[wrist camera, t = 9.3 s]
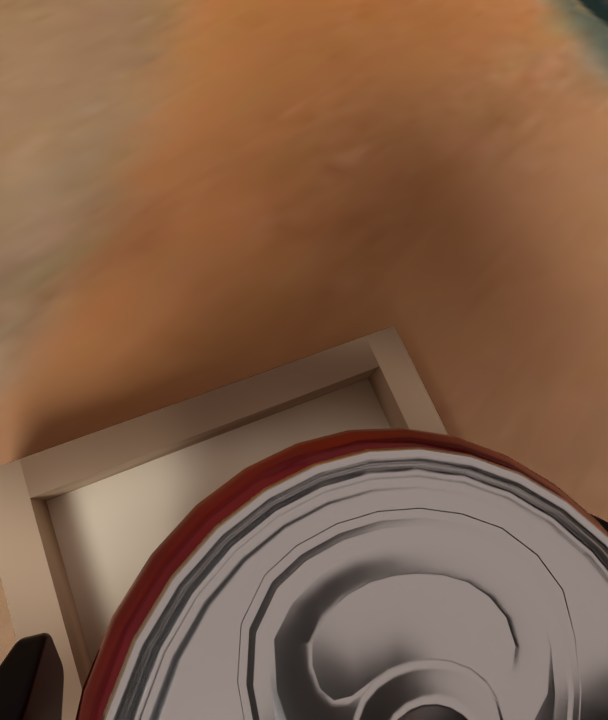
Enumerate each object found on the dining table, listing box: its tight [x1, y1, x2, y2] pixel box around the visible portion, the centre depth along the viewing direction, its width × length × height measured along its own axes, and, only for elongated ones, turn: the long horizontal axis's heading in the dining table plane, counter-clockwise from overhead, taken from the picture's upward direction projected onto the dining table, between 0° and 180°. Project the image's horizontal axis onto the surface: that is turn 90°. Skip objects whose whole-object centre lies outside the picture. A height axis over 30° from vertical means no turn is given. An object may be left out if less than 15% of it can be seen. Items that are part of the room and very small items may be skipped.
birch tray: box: [0, 325, 448, 720], centre depth 16 cm, size 14×14×2 cm
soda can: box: [75, 428, 608, 720], centre depth 11 cm, size 7×7×12 cm
